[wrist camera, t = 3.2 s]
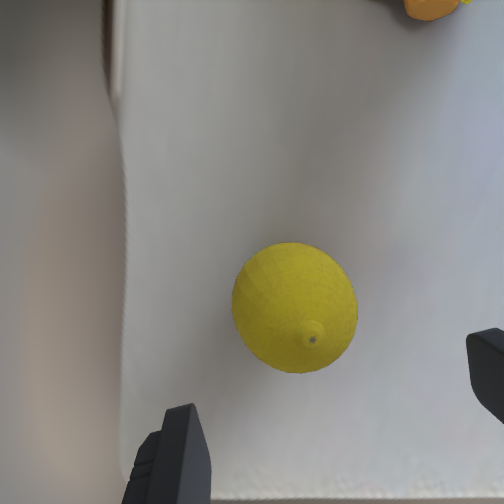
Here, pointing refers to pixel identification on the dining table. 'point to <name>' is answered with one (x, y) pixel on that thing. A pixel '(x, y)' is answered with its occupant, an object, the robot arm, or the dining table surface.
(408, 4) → the yellow faceted capsule
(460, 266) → the dining table surface
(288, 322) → the lemon
